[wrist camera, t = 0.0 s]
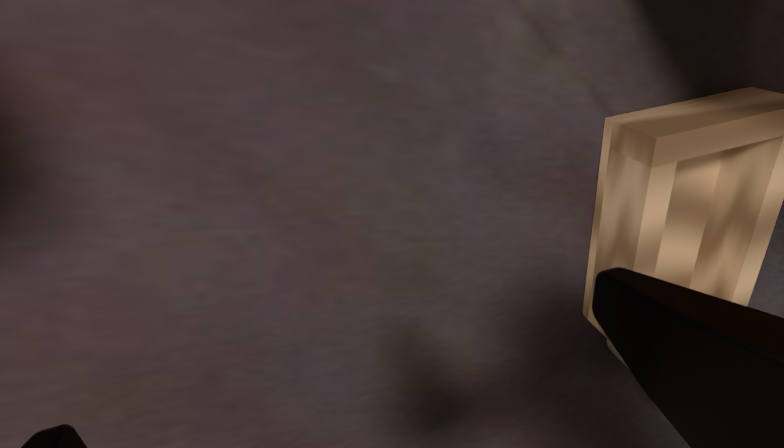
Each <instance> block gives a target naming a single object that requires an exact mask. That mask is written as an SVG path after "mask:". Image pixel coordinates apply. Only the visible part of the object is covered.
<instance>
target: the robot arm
mask: <svg viewBox="0 0 784 448" xmlns="http://www.w3.org/2000/svg"><path fill="white" fill-rule="evenodd" d="M592 312H593V315H594V317H595V319H596V321H597V322H598V324H599V325H600V327H601V328H602V330H603V331H604V333H605V334H606V336H607V337H608V339H609V340H610V342H611V343H612V344H613V346H614V347H615V349H616V350H617V352H618V353H619V355H620V356H621V358H622V359H623V361H624V362H625V364H626V365H627V367H628V368H629V370H630V371H631V373H632V374H633V376H634V377H635V378H636V380H637V381H638V383H639V384H640V385H641V387H642V388H643V389H644V391H645V392H646V393H647V395H648V396H649V397H650V398H651V400H652V401H653V402H654V403H655V404H656V406H657V407H658V408H659V409H660V411H661V412H662V413H663V414H664V415H665V417H666V418H667V419H668V420H669V421H670V423H671V424H672V425H673V426H674V427H675V429H676V430H677V431H678V432H679V434H680V435H681V436H682V437H683V438H684V440H685V441H686V442H687V443H688V444H689V446H690V447H691V448H784V318H782V317H779V316H776V315H772V314H769V313H766V312H763V311H760V310H756V309H753V308H750V307H747V306H744V305H740V304H737V303H734V302H731V301H728V300H724V299H721V298H718V297H715V296H712V295H709V294H705V293H702V292H699V291H696V290H693V289H689V288H686V287H683V286H680V285H677V284H673V283H670V282H667V281H664V280H661V279H657V278H654V277H651V276H648V275H645V274H642V273H638V272H635V271H632V270H629V269H626V268H622V267H614V268H611V269H607V270H604V271H600V272H599V273H598V274H597V276H596V278H595V284H594V292H593V300H592ZM21 448H87V447H86V445H85V444H84V442H83V441H82V439H81V438H80V436H79V435H78V433H77V432H76V430H75V429H74V428H73V427H72V426H70V425H68V424H63V425H59V426H56V427H52V428H49V429H45V430H42V431H39V432H37V433H36V434H34V435H33V436H32V437H31V438H30V439H29V440H28V441H27V442H26V443H25V444H24V445H23V446H22V447H21Z"/></svg>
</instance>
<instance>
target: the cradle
mask: <svg viewBox="0 0 784 448" xmlns="http://www.w3.org/2000/svg"><path fill="white" fill-rule="evenodd" d="M783 200H784V94H781V93H777V92H772V91H768V90H763V89H759V88H754V87H747V88H743V89H738V90H733V91H729V92H724V93H719V94H715V95H710V96H705V97H701V98H696V99H691V100H687V101H682V102H677V103H673V104H668V105H663V106H659V107H654V108H649V109H645V110H640V111H635V112H631V113H626V114H621V115H616V116H612V117H607V118H605V125H604V133H603V142H602V150H601V159H600V167H599V176H598V184H597V192H596V201H595V209H594V218H593V226H592V235H591V243H590V252H589V260H588V269H587V277H586V285H585V294H584V302H583V311H582V314H583V315H584V316H585V317H586V318H587V319H588V320H589V321H590V322H591V323H592V324H593V325H594V326H595V327H596V328H597V329H598V330H599V331H600V332H601V333H602V334H603V335H604V336H605V337H606V338H607V339H608V337H607V336H606V334H605V333H604V331H603V330H602V328H601V327H600V325H599V324H598V322H597V321H596V319H595V317H594V315H593V312H592V300H593V292H594V284H595V278H596V276H597V274H598V273H599V272H600V271H604V270H607V269H611V268H614V267H622V268H626V269H629V270H632V271H635V272H638V273H642V274H645V275H648V276H651V277H654V278H657V279H661V280H664V281H667V282H670V283H673V284H677V285H680V286H683V287H686V288H689V289H693V290H696V291H699V292H702V293H705V294H709V295H712V296H715V297H718V298H721V299H724V300H728V301H731V302H734V303H737V304H740V305H744V306H747V305H748V303H749V300H750V297H751V294H752V291H753V288H754V285H755V282H756V279H757V276H758V273H759V270H760V267H761V264H762V261H763V258H764V255H765V252H766V250H767V247H768V244H769V241H770V238H771V235H772V232H773V229H774V226H775V223H776V220H777V217H778V214H779V211H780V208H781V205H782V202H783ZM608 340H609V339H608ZM609 341H610V340H609Z"/></svg>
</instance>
